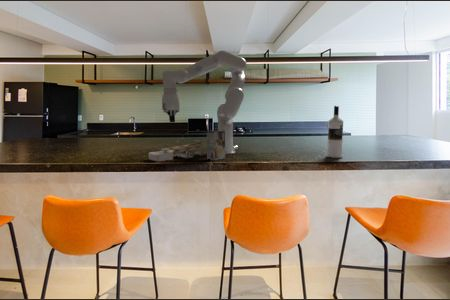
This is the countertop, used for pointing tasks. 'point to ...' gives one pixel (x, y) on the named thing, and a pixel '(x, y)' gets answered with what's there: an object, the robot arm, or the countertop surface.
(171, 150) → the launcher
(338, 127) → the vodka
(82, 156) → the countertop surface
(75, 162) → the countertop surface
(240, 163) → the countertop surface
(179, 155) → the stand
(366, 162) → the countertop surface
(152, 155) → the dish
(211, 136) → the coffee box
